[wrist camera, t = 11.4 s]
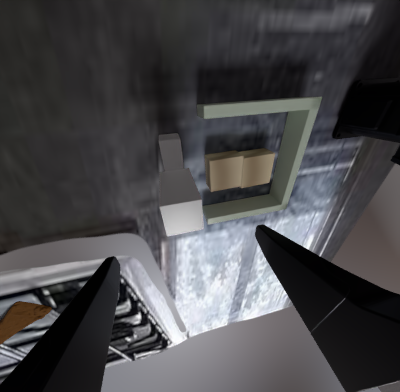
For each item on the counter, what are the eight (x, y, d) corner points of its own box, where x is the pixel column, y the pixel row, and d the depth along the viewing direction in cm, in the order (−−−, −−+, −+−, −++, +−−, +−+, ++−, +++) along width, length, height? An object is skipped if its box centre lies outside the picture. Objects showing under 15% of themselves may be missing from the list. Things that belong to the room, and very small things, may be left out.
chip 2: (263, 147, 20) (275, 153, 18) (259, 174, 22) (269, 182, 20) (234, 152, 20) (243, 158, 18) (233, 179, 22) (241, 188, 20)
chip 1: (234, 149, 19) (243, 155, 17) (233, 177, 22) (241, 186, 20) (204, 154, 19) (209, 161, 17) (206, 182, 21) (211, 191, 19)
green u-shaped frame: (299, 97, 17) (322, 96, 15) (273, 198, 25) (285, 208, 23) (196, 104, 16) (203, 105, 13) (202, 211, 23) (207, 224, 21)
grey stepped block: (181, 132, 17) (199, 159, 9) (189, 199, 22) (204, 251, 14) (153, 135, 16) (149, 166, 9) (168, 203, 21) (172, 259, 14)
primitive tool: (19, 297, 25) (1, 323, 22) (56, 304, 28) (44, 328, 25) (-35, 346, 29) (-57, 374, 26) (2, 348, 32) (-13, 373, 29)
